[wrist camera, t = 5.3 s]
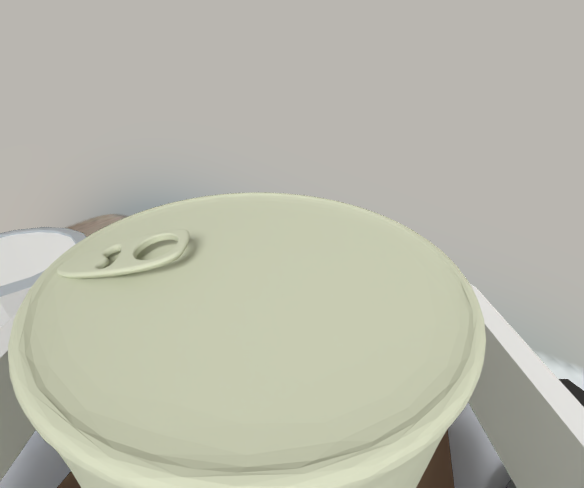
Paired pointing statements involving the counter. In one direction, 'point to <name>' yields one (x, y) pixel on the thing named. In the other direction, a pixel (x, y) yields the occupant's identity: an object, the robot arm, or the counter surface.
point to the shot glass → (28, 261)
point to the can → (248, 347)
